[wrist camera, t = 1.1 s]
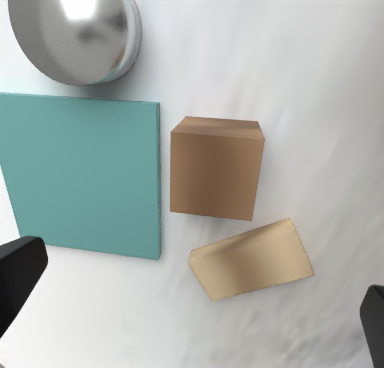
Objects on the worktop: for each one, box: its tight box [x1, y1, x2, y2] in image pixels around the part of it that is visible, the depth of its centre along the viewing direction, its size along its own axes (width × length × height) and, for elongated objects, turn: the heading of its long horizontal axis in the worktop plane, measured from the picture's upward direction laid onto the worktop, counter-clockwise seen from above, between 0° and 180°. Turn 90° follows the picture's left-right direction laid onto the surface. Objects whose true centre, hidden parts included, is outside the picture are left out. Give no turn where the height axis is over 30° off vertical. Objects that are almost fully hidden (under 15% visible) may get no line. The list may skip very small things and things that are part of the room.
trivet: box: [0, 92, 161, 260], centre depth 20 cm, size 12×12×1 cm
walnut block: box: [170, 116, 265, 221], centre depth 16 cm, size 4×4×4 cm
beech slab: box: [188, 218, 314, 301], centre depth 20 cm, size 8×4×2 cm, turn 118°
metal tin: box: [8, 0, 142, 85], centre depth 14 cm, size 6×6×3 cm
